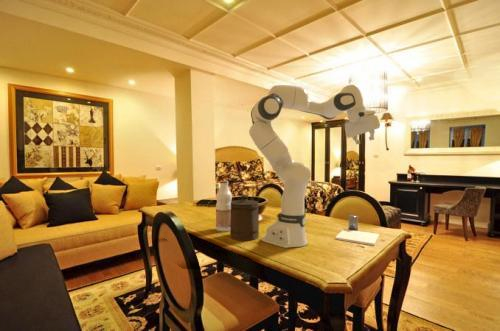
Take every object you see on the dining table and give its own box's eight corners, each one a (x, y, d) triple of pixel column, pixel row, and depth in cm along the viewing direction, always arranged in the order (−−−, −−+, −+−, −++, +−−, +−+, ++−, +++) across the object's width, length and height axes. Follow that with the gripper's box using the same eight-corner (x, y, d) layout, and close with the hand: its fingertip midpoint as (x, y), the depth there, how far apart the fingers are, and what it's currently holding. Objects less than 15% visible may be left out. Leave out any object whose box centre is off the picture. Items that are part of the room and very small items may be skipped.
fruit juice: (221, 232, 138) (221, 182, 137) (212, 229, 145) (212, 180, 144) (235, 229, 144) (235, 181, 143) (226, 226, 151) (226, 180, 150)
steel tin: (347, 230, 143) (347, 216, 143) (349, 228, 148) (349, 214, 147) (356, 231, 141) (357, 217, 141) (358, 229, 145) (358, 215, 145)
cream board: (335, 239, 127) (335, 237, 127) (343, 230, 142) (343, 229, 142) (374, 245, 117) (374, 243, 117) (379, 236, 132) (379, 234, 132)
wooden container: (247, 230, 142) (247, 192, 141) (264, 237, 130) (264, 195, 130) (225, 235, 133) (225, 194, 133) (240, 242, 121) (240, 197, 121)
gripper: (339, 123, 138) (346, 147, 137) (367, 110, 118) (375, 138, 118) (348, 121, 140) (355, 145, 139) (377, 108, 120) (385, 136, 120)
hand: (365, 142), depth 128 cm, fingers open, 8 cm apart
